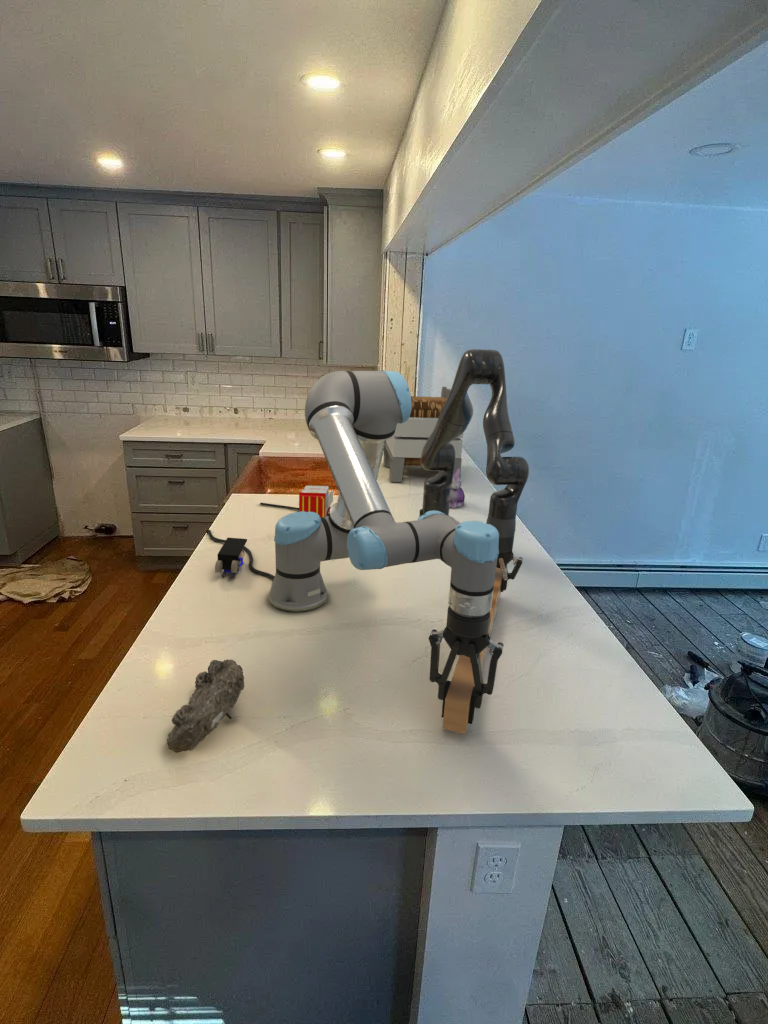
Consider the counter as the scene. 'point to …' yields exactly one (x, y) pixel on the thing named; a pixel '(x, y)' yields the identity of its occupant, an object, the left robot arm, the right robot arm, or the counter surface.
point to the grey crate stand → (417, 436)
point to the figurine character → (230, 556)
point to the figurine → (456, 491)
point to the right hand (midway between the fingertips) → (492, 588)
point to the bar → (466, 677)
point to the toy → (316, 500)
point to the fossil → (206, 705)
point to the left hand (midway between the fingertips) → (457, 716)
